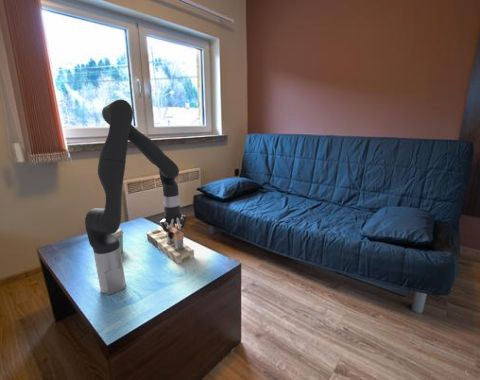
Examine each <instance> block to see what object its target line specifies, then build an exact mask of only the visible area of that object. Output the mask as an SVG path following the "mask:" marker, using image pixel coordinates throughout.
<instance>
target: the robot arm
mask: <svg viewBox="0 0 480 380" xmlns="http://www.w3.org/2000/svg"><path fill="white" fill-rule="evenodd" d="M101 116H102V118H103V120H104V121H105V122H106V124H108V125H109V129H108V134H107V137H106V139H105V142H104V143H103V145H102V148H101V151H100V154H99V159H98V164H97V165H98V166H97V176H98V179H99V182H100V184H101V187H102V188H103V191H104V193H105V194H104V195H105V204H104V207H103V208H101V207H94V208H91V209H90V210H88V211H87V213H86V215H85V218H84V226H85V231H86V235H87V238H88V243H89V245H90V246H91V248H92V250H93V256H94V261H95V267H96V273H97V279H98V283H99V289H100V293H102V294H105V295H108V296H110V295H112V294H115V293H117V292H120V291H123V290H125V289H126V288H125V286H126V278H125V277H126V276H125V271H124V264H123V258H122V253H121V249H120V243H119V239H118V238H116V237H115V236H113V235H112V234H113V233H115V232H116V231H117V230H118V229H119V228H120V225H121V222H122V206H123V205H122V202H123V200H122V198H123V197H122V195H123V187H124V186H123V185H124V178H125V177H124V176H125V171H126V165H127V164H126V163H127V161H126V160H127V152H128V142H130V143H131V144H132V145H133V146H135V148H136V149H137V150H139V151H140V153H141V154H142V155H143V156H144V157H146V159H147V160H148V161H149V162H150V163H151V164H153V165H154V166H156V167H157V168H158V170H159V171H158V174H159V178H160V180H161V181H160V183H161V185H162V193H163V201H162V202H163V212H164V218H163V219H162V220H159V221H158V222H159V224H160V227H161V228H162V229H163V230H164V231H165V232H168V237H169V238H170V239H173V238H172V227H174V225H175V228H176V229H178V230H180V231H181V232H182V230H181V229H182V228H184V227H185V225H186V222H187V221H186V220H187V215H185V214H181V212H182V211H181V201H180V200H181V199H180V193H179V186H178V183H177V182H176V180H175V179H176V178H177V177H178V176H179V174H180V168H179V166H178V165H177V164H176V163H175V162H174V161H173V160H172V159H171V158H169V156H167V155H166V154H165V153H164V151H163V150H162V149H161V148H160V147H159V146H158V145H157V143H155V141H153V140H152V139H151V138H149V137H148V136H146V135H145V134H143V133H142V132H141V131H140V130H138V129H137V128H136V127H135V126H134V125H133V124H132V123H133V119H134V111H133V107H132V105H131V104H130V103H129V102H128V101H127V100H126V99H115V100H112V101H110V102H109V103H107V104H105V105H104V106H103V107H102V111H101ZM166 225H167V226H166ZM166 227H167V228H166Z"/></svg>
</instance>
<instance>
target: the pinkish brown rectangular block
mask: <svg viewBox="0 0 480 380" xmlns="http://www.w3.org/2000/svg"><path fill="white" fill-rule="evenodd" d="M166 228H167V226H166ZM166 233H167V242H168V244H173V243H175V246H176V250H178V251H179V250H182V249H184V246H183V243H184V239H185V238H184V232H183V231H182V230H181V231H180V230H178V229H177V228H176V226H175V227H174V226H173V227H172V238H173V239H170V238H169V237H168V232H166Z"/></svg>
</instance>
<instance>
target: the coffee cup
mask: <svg viewBox="0 0 480 380" xmlns="http://www.w3.org/2000/svg"><path fill="white" fill-rule="evenodd" d="M123 234H124V231H123V229H122V228H121V227H119V229H118V230H117V231H116V232H115V233H113V234H112V235H113V236H115V237H116V238H118V239H119V243H120V249H121V252H122V253H123V251H124V236H123Z"/></svg>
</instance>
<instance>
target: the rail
mask: <svg viewBox="0 0 480 380" xmlns="http://www.w3.org/2000/svg"><path fill="white" fill-rule="evenodd" d="M146 240H147V241H148V242H149V243H150V244H151V245H154V246H155V247H156V248H157V249H159V250H160V251H161V252H162V253H163V254H165V256H167V257H168V258H169V259H171V260H172V261H173V262H174V263H175V264H177V265H179V264H182V263H185V262H186V261H189V260H192V259H194V258H195V251H194V249H193V248H191V246H188V245H187V244H186V243H184V242H183V246H184V249H182V250H179V251H178V250H176V246H175V243H173V244H168V242H167V233H166V232H165V231H164V230H163V228H162V227H161V228H158V229H155V230H151V231H148V232H146Z"/></svg>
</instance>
